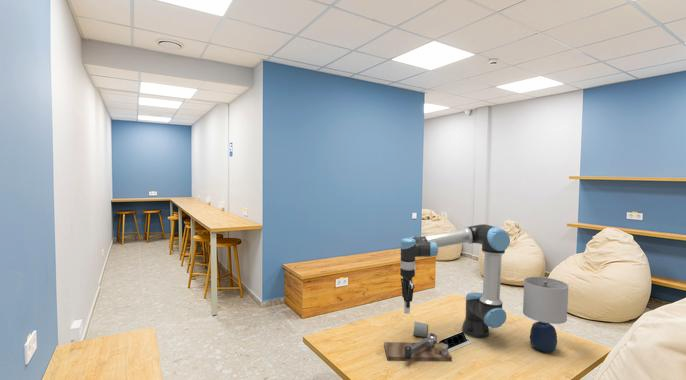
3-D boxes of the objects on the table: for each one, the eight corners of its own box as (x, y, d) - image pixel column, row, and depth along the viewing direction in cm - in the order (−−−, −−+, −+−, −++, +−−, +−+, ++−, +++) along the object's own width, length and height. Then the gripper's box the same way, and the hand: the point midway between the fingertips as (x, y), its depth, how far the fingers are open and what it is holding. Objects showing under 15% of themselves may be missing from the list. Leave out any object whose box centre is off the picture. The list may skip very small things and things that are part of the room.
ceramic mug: (428, 339, 198) (428, 326, 198) (413, 337, 200) (413, 324, 200) (427, 331, 209) (428, 318, 208) (413, 330, 210) (413, 317, 210)
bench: (443, 346, 191) (443, 335, 190) (451, 361, 176) (452, 349, 175) (383, 345, 191) (384, 334, 190) (387, 360, 176) (387, 348, 175)
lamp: (559, 343, 195) (562, 278, 193) (570, 362, 176) (573, 289, 174) (519, 337, 202) (521, 274, 200) (524, 354, 183) (527, 284, 181)
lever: (430, 339, 190) (430, 330, 190) (439, 343, 187) (439, 334, 186) (401, 356, 173) (401, 346, 173) (410, 360, 169) (410, 350, 169)
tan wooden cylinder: (441, 350, 182) (441, 343, 182) (443, 354, 178) (443, 347, 178) (433, 350, 182) (433, 343, 182) (435, 354, 178) (435, 347, 178)
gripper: (396, 265, 189) (395, 308, 191) (405, 272, 177) (404, 318, 178) (409, 264, 191) (408, 307, 192) (419, 271, 178) (418, 317, 179)
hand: (406, 312), depth 185 cm, fingers closed
